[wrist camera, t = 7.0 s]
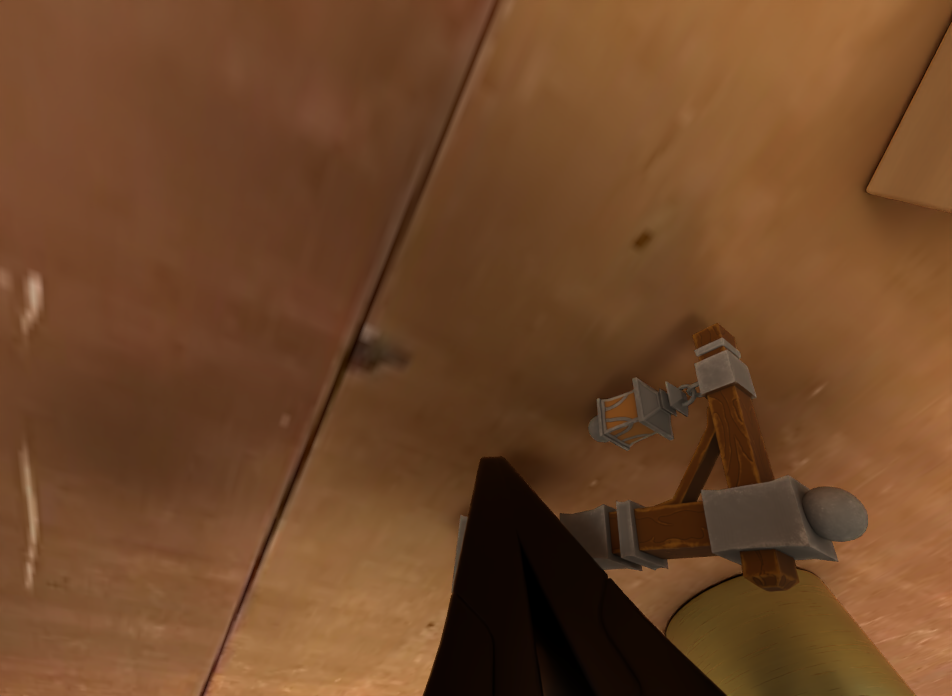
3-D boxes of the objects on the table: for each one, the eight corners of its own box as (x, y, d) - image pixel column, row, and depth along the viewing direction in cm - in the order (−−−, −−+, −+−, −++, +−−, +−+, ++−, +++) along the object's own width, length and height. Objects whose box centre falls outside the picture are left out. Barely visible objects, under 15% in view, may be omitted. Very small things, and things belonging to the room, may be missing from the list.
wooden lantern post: (795, 327, 8) (923, 595, 6) (515, 448, 14) (508, 616, 11) (747, 280, 7) (868, 564, 5) (469, 428, 13) (450, 603, 10)
